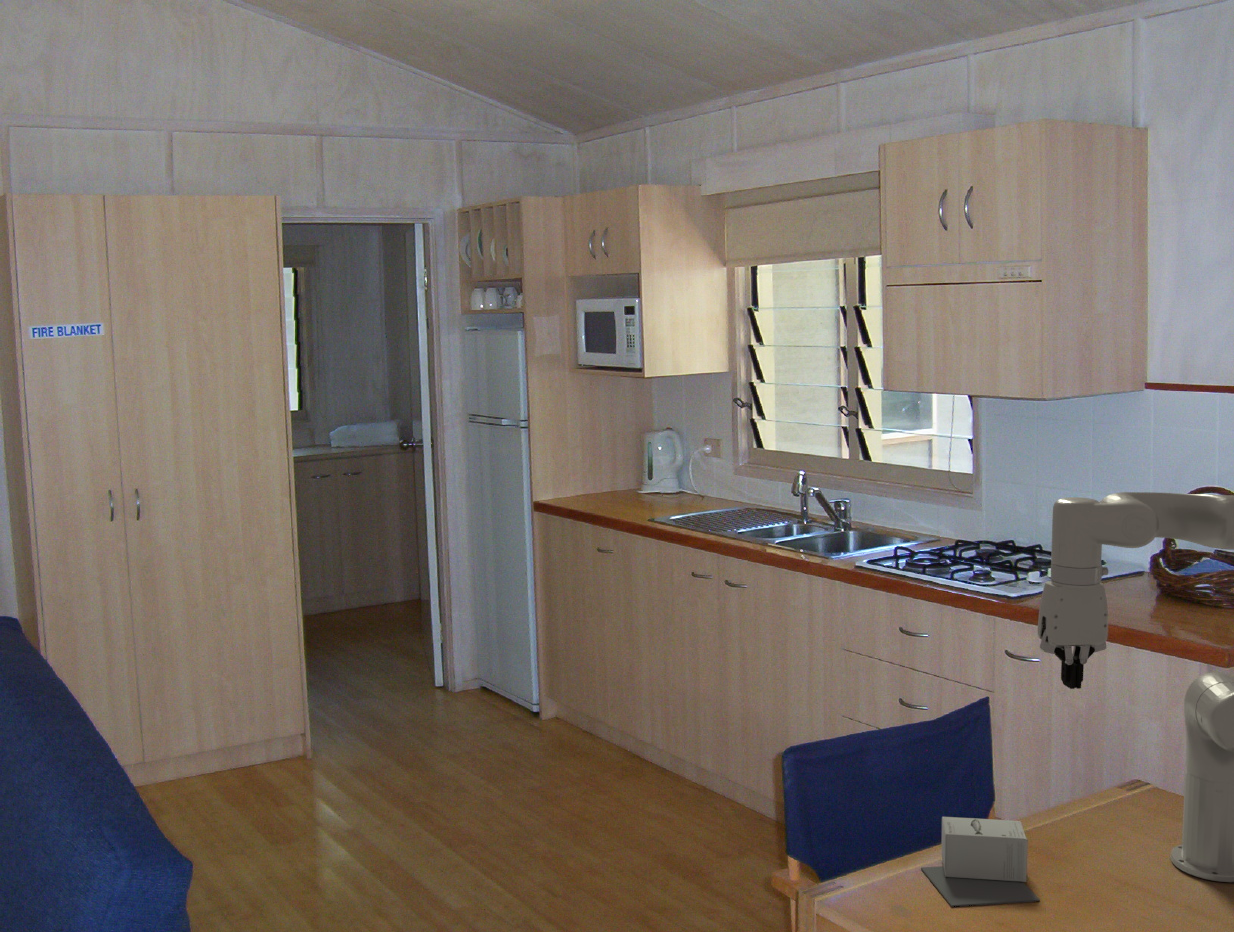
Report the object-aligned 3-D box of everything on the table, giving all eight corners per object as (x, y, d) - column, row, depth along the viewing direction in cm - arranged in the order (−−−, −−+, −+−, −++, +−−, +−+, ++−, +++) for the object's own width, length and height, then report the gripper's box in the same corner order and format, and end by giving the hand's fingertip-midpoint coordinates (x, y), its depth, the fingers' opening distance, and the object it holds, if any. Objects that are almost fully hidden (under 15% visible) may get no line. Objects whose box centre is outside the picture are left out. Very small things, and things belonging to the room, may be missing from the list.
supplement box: (1028, 838, 192) (945, 834, 194) (1027, 883, 193) (944, 878, 195) (1021, 819, 200) (941, 815, 202) (1020, 862, 200) (940, 858, 203)
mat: (1004, 864, 201) (1004, 862, 201) (1039, 901, 188) (1040, 899, 188) (921, 869, 199) (921, 867, 199) (951, 907, 186) (951, 905, 186)
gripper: (1108, 569, 202) (1104, 678, 204) (1020, 571, 200) (1017, 681, 202) (1132, 578, 194) (1127, 691, 197) (1041, 581, 193) (1037, 695, 195)
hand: (1071, 686), depth 199 cm, fingers closed
